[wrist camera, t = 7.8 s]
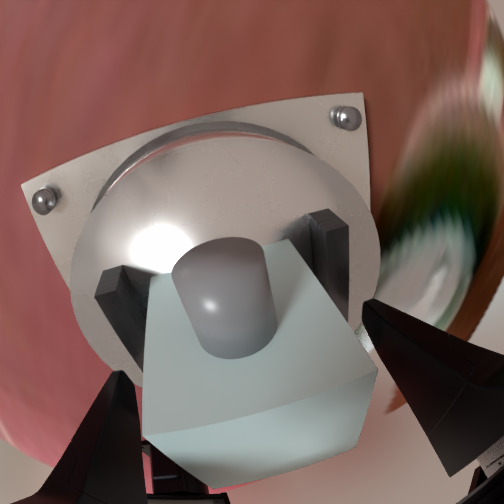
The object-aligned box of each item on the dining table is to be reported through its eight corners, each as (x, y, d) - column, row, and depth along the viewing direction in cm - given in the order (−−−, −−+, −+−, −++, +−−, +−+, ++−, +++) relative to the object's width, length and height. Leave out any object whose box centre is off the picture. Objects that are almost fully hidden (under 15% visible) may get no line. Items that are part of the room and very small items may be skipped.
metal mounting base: (359, 301, 20) (407, 365, 15) (129, 366, 19) (126, 447, 13) (352, 92, 13) (444, 101, 7) (29, 179, 11) (-44, 235, 6)
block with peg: (300, 334, 13) (355, 447, 8) (194, 364, 13) (213, 488, 7) (280, 185, 9) (391, 297, 4) (130, 226, 9) (88, 381, 4)
